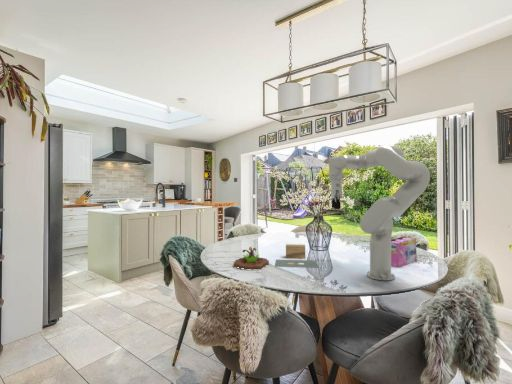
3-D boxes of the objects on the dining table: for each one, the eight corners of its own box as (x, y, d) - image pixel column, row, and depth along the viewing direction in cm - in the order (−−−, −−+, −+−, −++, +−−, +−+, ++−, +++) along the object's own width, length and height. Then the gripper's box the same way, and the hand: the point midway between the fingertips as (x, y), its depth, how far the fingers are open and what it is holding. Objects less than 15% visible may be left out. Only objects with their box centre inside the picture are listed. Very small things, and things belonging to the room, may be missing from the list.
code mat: (318, 268, 150) (318, 267, 150) (274, 266, 153) (274, 266, 153) (315, 260, 165) (315, 260, 165) (275, 259, 168) (275, 259, 168)
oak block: (305, 259, 169) (305, 246, 169) (285, 258, 171) (285, 246, 171) (304, 257, 174) (304, 244, 174) (286, 256, 176) (285, 244, 176)
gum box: (404, 257, 170) (404, 236, 170) (418, 260, 164) (418, 238, 164) (384, 264, 156) (384, 240, 156) (398, 267, 150) (398, 243, 149)
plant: (228, 269, 150) (228, 249, 150) (239, 260, 169) (239, 242, 169) (264, 271, 145) (264, 250, 145) (271, 262, 164) (271, 243, 164)
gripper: (345, 177, 147) (345, 209, 147) (339, 178, 164) (340, 207, 165) (331, 178, 148) (331, 209, 148) (327, 179, 165) (327, 207, 165)
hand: (336, 208), depth 156 cm, fingers open, 9 cm apart
